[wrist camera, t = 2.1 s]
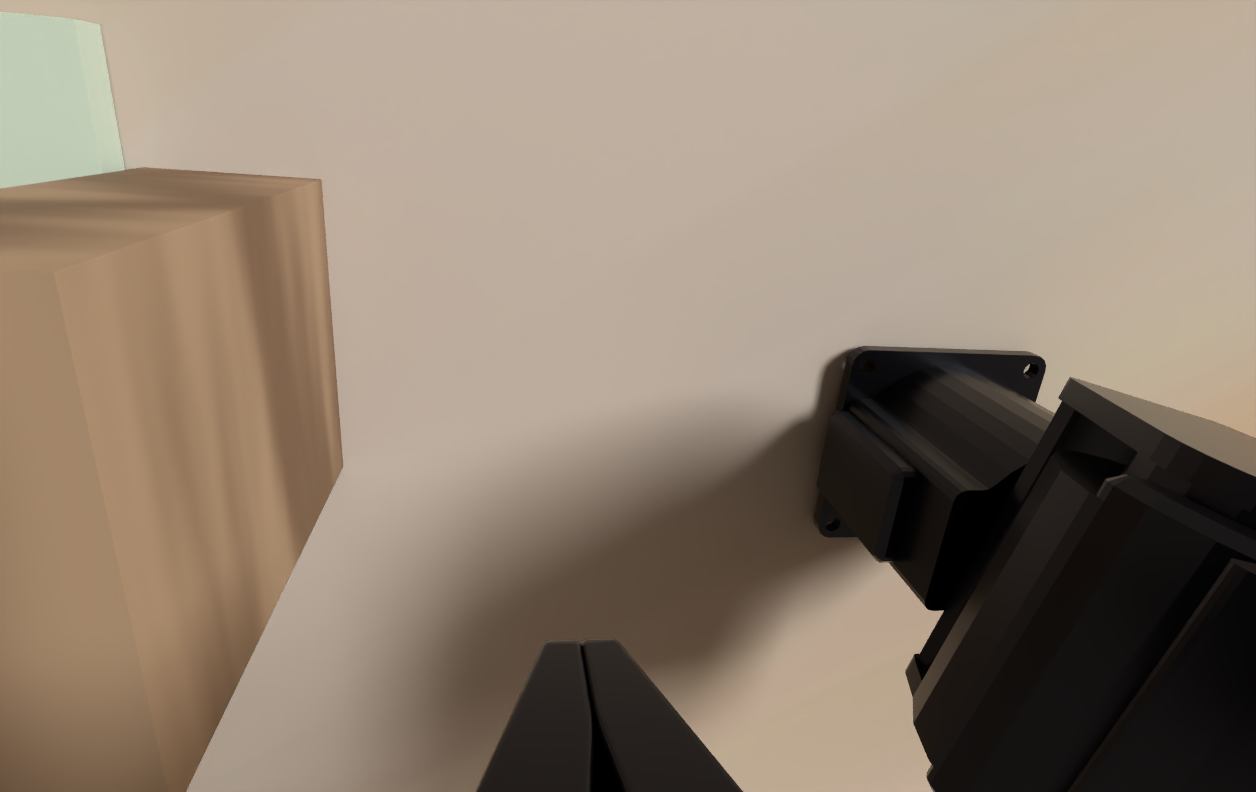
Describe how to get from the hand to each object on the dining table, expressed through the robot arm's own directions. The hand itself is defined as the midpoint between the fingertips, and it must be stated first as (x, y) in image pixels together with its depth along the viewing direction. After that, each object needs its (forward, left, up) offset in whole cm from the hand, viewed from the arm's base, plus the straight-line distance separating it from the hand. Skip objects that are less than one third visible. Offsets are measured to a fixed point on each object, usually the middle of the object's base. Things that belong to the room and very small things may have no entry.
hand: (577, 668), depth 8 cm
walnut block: (+8, 0, -13) cm, 15 cm away
